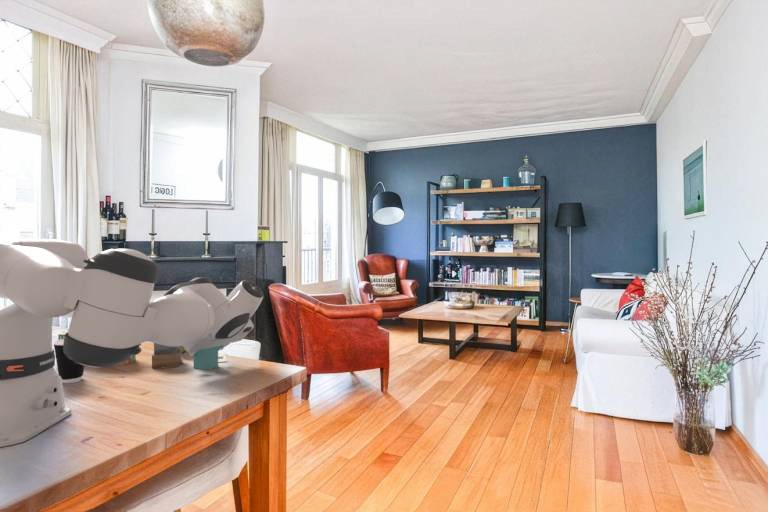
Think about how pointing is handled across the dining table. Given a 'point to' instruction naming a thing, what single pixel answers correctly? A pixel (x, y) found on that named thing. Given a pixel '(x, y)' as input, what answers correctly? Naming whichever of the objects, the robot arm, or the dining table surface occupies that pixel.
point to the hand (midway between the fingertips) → (205, 351)
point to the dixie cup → (67, 365)
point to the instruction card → (222, 358)
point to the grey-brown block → (166, 356)
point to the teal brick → (206, 358)
